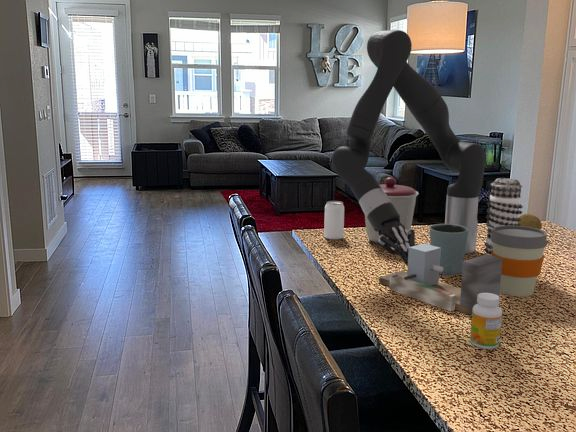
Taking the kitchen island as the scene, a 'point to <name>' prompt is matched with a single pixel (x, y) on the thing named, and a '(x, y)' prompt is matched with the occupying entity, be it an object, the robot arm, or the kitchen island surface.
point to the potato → (530, 221)
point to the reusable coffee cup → (519, 257)
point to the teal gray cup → (450, 246)
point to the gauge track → (475, 279)
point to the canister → (396, 205)
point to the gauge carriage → (424, 264)
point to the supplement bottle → (486, 321)
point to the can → (334, 220)
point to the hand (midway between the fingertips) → (413, 266)
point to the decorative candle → (502, 207)
